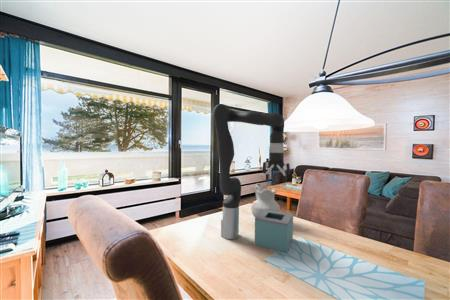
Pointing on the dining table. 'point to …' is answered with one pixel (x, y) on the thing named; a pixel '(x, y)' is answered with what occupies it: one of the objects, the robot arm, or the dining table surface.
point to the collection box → (274, 230)
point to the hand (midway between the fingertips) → (275, 182)
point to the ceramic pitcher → (264, 201)
